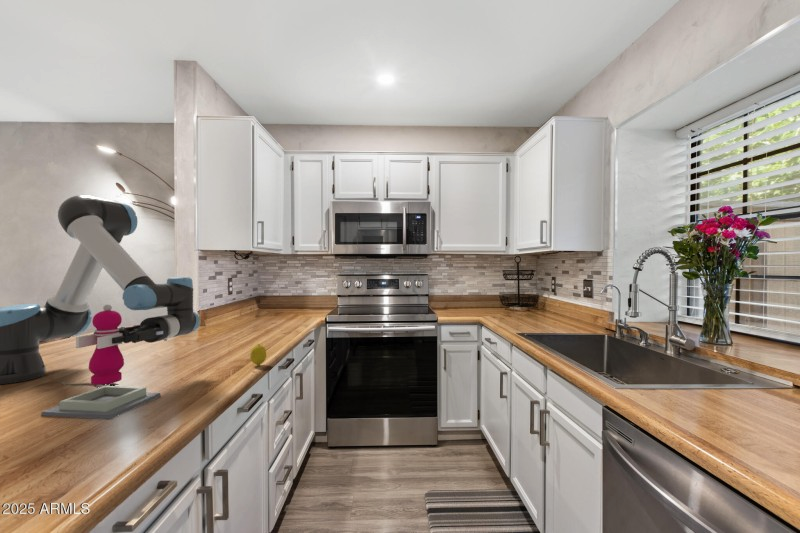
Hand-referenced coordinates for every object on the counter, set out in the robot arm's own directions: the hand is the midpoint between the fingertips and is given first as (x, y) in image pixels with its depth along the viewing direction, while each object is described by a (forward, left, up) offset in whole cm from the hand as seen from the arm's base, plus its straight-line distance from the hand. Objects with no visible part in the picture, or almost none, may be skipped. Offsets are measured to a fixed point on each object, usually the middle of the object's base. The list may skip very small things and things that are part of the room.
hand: (88, 342), depth 91 cm
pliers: (-20, +23, -18) cm, 36 cm away
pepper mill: (0, +5, -11) cm, 12 cm away
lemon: (+20, +48, -18) cm, 55 cm away
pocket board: (0, +5, -17) cm, 18 cm away
